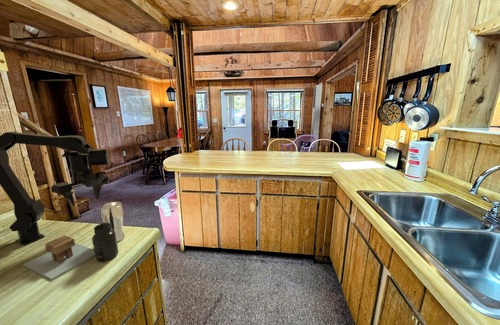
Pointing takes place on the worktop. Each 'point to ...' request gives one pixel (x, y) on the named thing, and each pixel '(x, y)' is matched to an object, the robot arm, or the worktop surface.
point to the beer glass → (114, 218)
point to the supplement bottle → (104, 242)
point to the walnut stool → (60, 248)
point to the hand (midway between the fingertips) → (85, 202)
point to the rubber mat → (56, 269)
